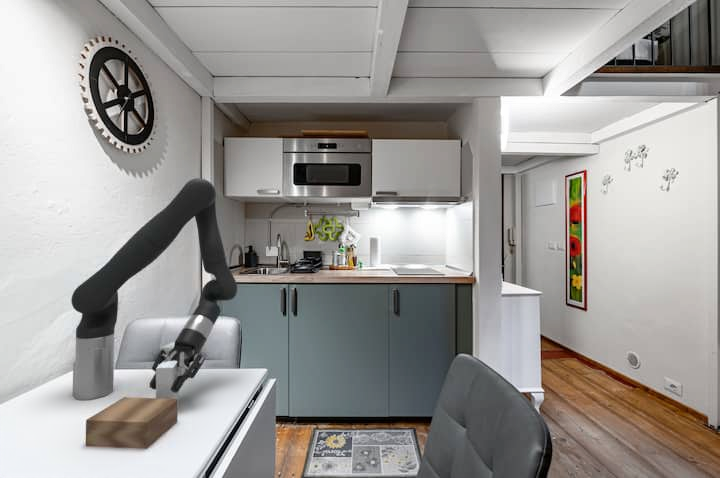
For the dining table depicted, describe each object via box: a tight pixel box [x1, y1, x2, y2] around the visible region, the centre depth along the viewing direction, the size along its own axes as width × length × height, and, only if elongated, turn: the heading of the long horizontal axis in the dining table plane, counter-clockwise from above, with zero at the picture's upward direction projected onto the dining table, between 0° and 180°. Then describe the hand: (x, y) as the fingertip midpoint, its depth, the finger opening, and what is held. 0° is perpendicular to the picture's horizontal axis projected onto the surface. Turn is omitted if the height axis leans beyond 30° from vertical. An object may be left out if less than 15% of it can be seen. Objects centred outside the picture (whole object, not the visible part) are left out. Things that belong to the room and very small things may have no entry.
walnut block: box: [85, 396, 179, 450], centre depth 87 cm, size 14×12×6 cm
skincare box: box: [155, 361, 180, 405], centre depth 99 cm, size 6×4×12 cm
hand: (162, 389), depth 97 cm, fingers closed on skincare box, 6 cm apart
